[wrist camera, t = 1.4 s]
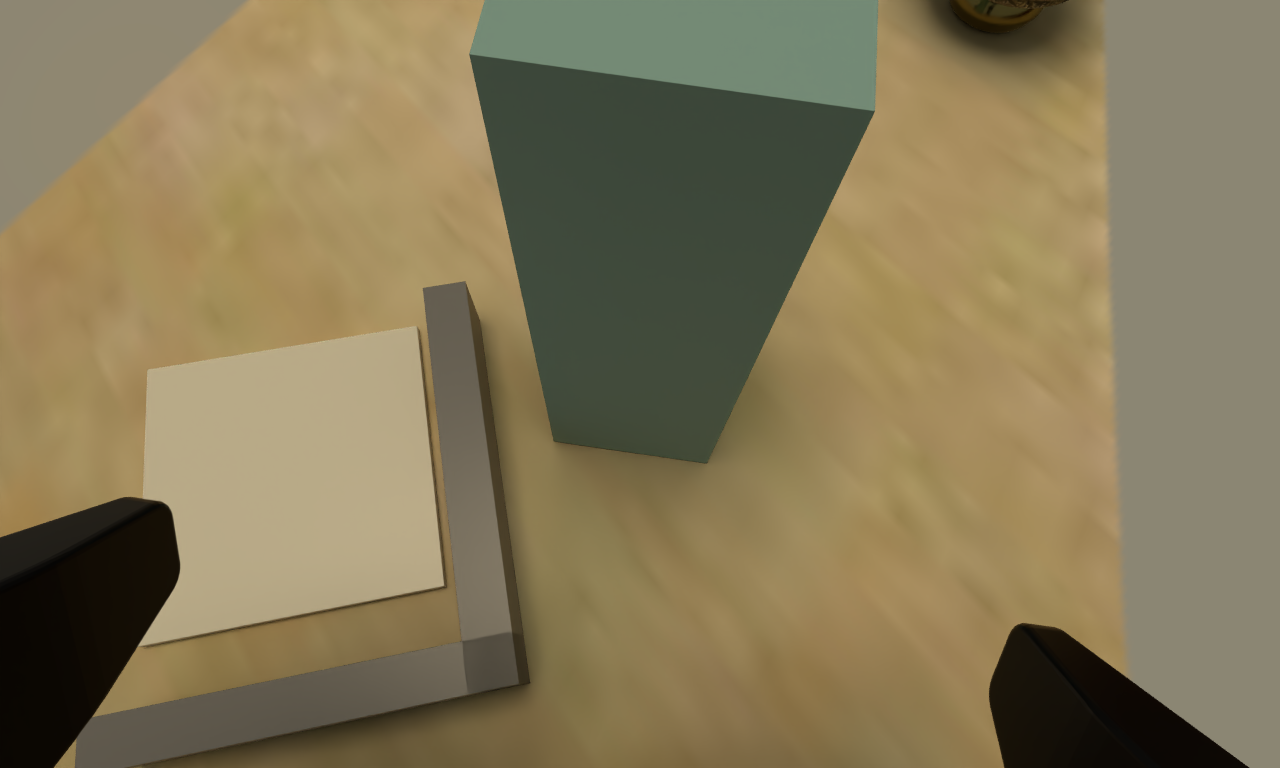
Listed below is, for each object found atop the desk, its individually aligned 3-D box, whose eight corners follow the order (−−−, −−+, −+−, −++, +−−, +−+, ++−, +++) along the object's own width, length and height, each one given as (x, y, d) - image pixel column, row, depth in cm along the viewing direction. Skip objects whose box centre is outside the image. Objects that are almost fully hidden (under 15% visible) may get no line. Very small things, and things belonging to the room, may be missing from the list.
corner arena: (529, 682, 20) (518, 683, 18) (140, 765, 19) (74, 778, 17) (479, 319, 24) (465, 281, 22) (153, 373, 23) (100, 338, 21)
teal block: (706, 463, 22) (874, 110, 8) (553, 441, 22) (469, 54, 8) (721, 319, 24) (882, -170, 10) (580, 299, 24) (546, -216, 10)
